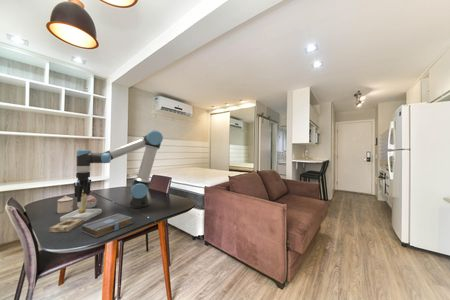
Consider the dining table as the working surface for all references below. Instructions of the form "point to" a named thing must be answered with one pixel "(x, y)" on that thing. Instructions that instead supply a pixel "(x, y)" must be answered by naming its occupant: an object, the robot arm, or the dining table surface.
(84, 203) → the lock pin
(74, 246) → the dining table surface
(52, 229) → the block
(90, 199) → the cupcake
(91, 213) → the tray
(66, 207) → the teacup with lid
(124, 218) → the book
